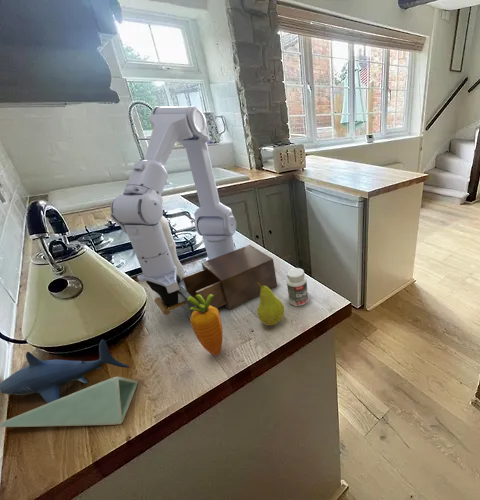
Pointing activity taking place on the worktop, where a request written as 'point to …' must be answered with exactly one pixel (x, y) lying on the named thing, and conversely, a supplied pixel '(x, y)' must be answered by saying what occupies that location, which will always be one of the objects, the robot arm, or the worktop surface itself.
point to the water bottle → (171, 246)
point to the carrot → (207, 324)
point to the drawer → (196, 292)
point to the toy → (53, 374)
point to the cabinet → (242, 274)
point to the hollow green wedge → (82, 407)
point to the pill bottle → (297, 287)
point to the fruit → (269, 307)
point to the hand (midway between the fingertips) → (172, 304)
